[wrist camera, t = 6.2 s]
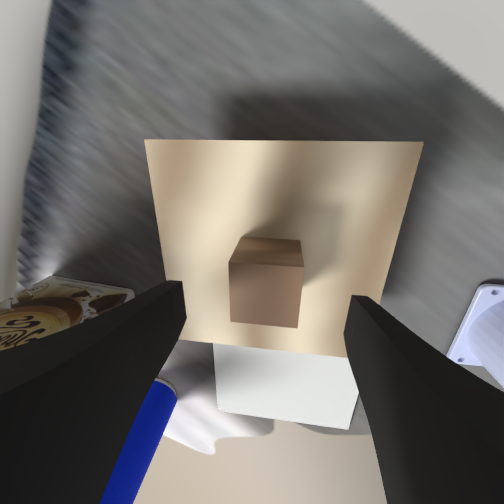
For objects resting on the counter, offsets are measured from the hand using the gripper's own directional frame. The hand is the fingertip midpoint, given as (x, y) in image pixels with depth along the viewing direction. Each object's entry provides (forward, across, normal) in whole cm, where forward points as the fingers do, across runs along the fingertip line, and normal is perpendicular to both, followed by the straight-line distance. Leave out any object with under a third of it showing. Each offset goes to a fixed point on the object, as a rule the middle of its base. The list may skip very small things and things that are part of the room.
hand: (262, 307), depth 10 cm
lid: (+6, 0, 0) cm, 6 cm away
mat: (+10, -2, +15) cm, 18 cm away
